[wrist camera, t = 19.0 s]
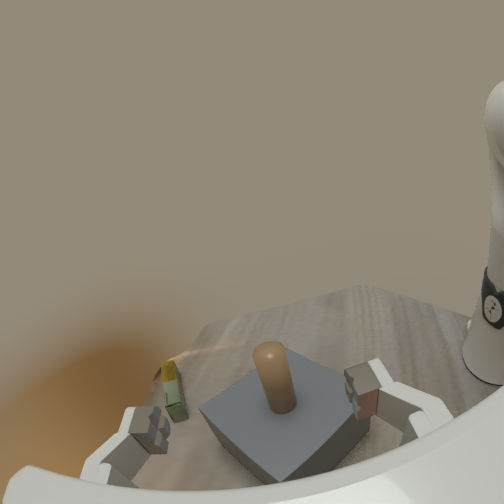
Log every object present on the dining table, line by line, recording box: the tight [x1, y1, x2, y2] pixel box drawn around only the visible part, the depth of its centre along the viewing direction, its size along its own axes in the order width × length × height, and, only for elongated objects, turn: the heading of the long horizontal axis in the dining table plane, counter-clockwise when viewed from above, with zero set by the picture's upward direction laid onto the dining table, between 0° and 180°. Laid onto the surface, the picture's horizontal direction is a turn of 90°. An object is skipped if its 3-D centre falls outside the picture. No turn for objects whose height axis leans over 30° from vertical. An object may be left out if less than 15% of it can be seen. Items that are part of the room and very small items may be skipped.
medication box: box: [161, 360, 188, 422], centre depth 42 cm, size 12×3×4 cm, turn 19°
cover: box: [199, 341, 371, 485], centre depth 28 cm, size 14×14×17 cm
